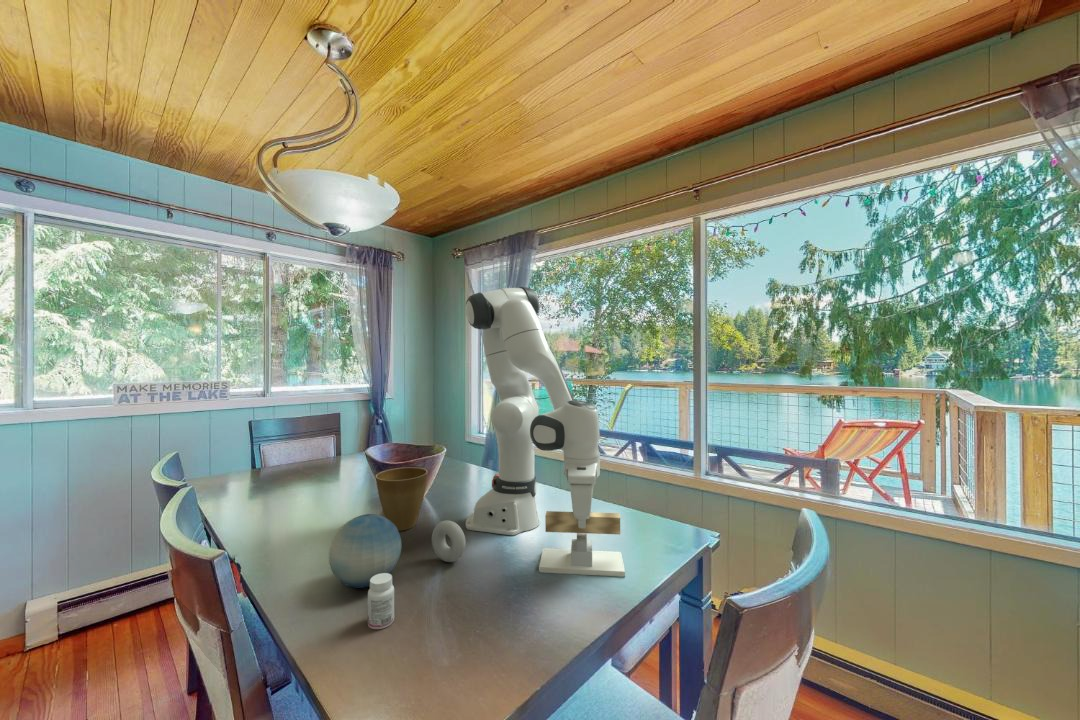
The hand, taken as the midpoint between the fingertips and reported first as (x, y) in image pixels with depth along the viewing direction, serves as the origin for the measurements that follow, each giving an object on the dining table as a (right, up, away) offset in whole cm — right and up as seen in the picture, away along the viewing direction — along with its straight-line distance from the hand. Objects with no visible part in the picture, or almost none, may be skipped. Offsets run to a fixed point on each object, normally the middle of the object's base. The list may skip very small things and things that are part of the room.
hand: (582, 523), depth 103 cm
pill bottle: (-41, -10, -23) cm, 48 cm away
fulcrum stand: (0, -10, 0) cm, 10 cm away
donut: (-33, -10, +1) cm, 35 cm away
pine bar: (0, -2, 0) cm, 2 cm away
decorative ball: (-49, -10, -9) cm, 51 cm away
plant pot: (-52, -10, +23) cm, 58 cm away
